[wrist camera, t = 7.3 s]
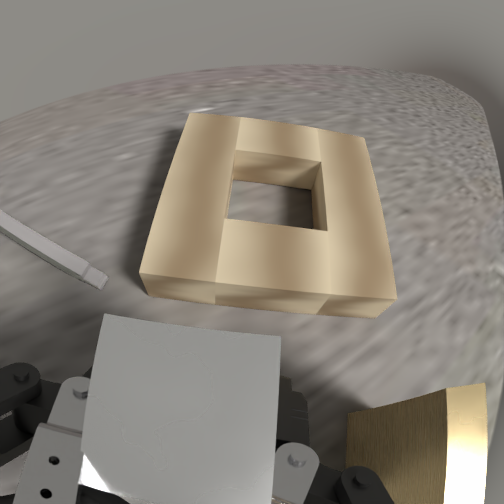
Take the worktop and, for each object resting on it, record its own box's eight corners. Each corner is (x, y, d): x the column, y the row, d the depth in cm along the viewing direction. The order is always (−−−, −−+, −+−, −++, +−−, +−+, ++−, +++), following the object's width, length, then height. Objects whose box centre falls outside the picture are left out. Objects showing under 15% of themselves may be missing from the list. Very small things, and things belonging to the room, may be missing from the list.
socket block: (148, 296, 19) (138, 272, 16) (190, 141, 26) (189, 112, 23) (375, 318, 19) (397, 299, 17) (352, 163, 27) (364, 137, 24)
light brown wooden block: (342, 510, 13) (436, 550, 5) (347, 413, 16) (446, 388, 8) (374, 505, 13) (478, 532, 5) (378, 411, 16) (484, 382, 9)
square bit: (160, 453, 14) (77, 482, 5) (168, 383, 16) (104, 313, 7) (237, 463, 14) (270, 514, 5) (242, 392, 16) (280, 336, 7)
